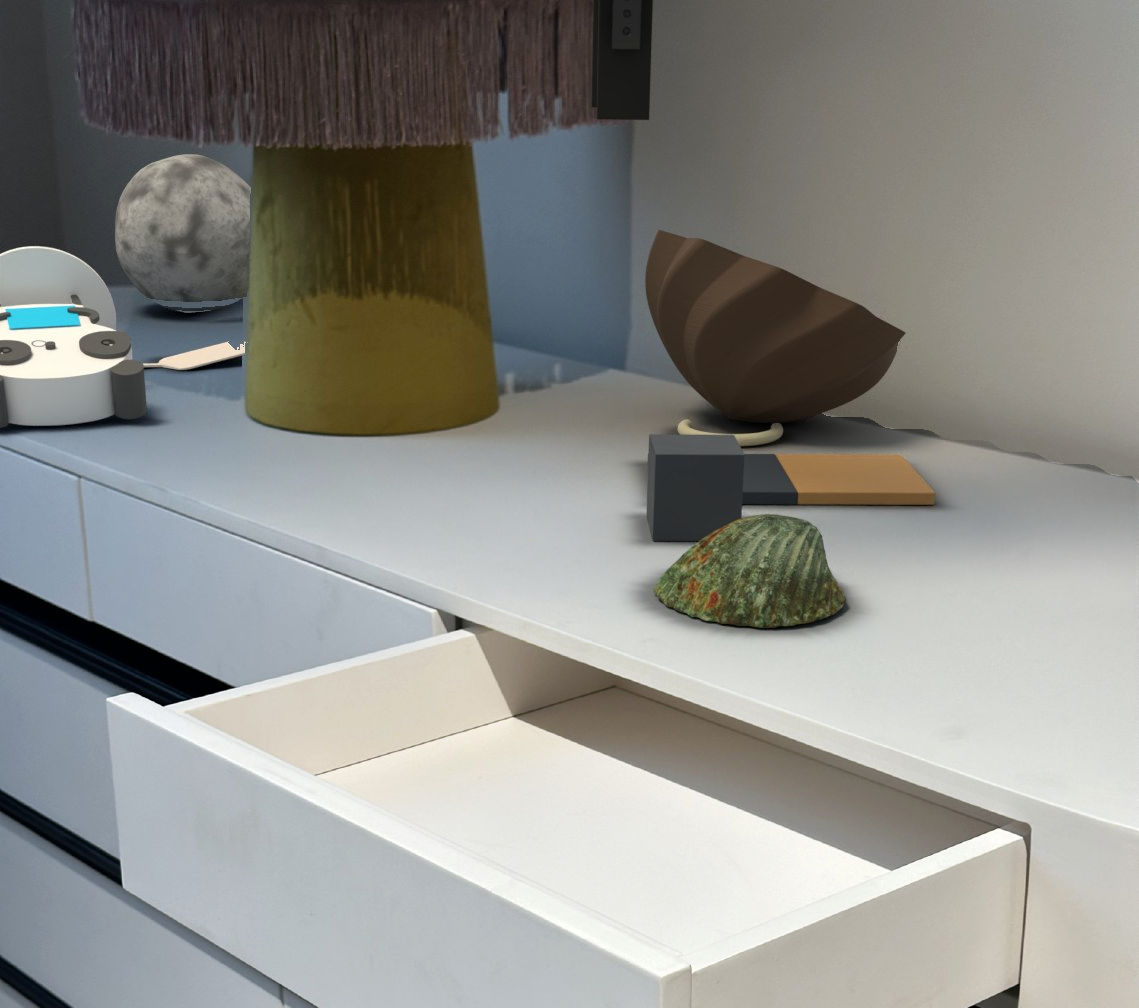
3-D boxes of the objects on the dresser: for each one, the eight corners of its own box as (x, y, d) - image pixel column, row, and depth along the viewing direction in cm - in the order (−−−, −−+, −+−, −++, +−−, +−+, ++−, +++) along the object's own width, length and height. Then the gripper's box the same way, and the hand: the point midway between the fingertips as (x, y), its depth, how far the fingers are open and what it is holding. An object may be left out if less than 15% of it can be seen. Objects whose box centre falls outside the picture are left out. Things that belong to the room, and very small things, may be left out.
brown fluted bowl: (960, 357, 119) (901, 489, 121) (800, 314, 135) (750, 431, 137) (759, 251, 108) (697, 398, 110) (610, 217, 124) (559, 346, 126)
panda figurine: (118, 243, 128) (142, 323, 117) (129, 381, 135) (153, 469, 124) (-48, 248, 125) (-39, 331, 114) (-28, 390, 132) (-18, 481, 121)
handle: (780, 449, 116) (783, 433, 121) (780, 437, 116) (784, 421, 121) (671, 445, 118) (679, 429, 122) (672, 433, 117) (679, 417, 122)
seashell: (623, 514, 85) (749, 481, 91) (616, 590, 87) (740, 553, 93) (779, 573, 79) (902, 534, 85) (768, 654, 80) (889, 609, 87)
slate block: (729, 517, 100) (734, 434, 98) (740, 541, 96) (744, 454, 94) (646, 517, 100) (649, 434, 98) (652, 540, 96) (655, 454, 94)
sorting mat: (900, 465, 113) (901, 454, 112) (934, 505, 104) (935, 492, 103) (647, 464, 112) (647, 452, 112) (659, 504, 103) (659, 491, 103)
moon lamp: (175, 138, 153) (249, 120, 166) (51, 208, 160) (131, 187, 173) (252, 291, 157) (319, 263, 170) (128, 354, 164) (201, 322, 177)
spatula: (265, 365, 143) (263, 347, 143) (-96, 394, 129) (-99, 374, 128) (238, 356, 148) (237, 339, 148) (-112, 382, 134) (-115, 364, 133)
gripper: (554, -295, 96) (551, 102, 105) (554, -394, 74) (550, 124, 82) (685, -293, 97) (671, 103, 105) (726, -391, 74) (703, 126, 82)
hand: (618, 113), depth 94 cm, fingers open, 13 cm apart
